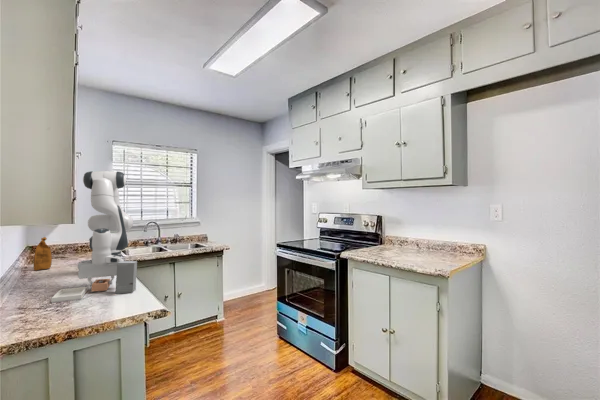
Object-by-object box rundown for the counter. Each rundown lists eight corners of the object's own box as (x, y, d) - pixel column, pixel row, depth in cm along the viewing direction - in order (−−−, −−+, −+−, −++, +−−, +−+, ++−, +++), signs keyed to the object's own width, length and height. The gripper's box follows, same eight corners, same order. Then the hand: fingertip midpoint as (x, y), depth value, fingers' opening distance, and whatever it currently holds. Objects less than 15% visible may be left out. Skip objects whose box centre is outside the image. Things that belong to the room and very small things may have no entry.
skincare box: (115, 294, 152) (115, 263, 153) (119, 290, 159) (120, 260, 159) (133, 292, 155) (133, 262, 155) (137, 289, 161) (137, 259, 162)
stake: (98, 289, 160) (98, 280, 160) (104, 289, 161) (104, 280, 161) (96, 291, 156) (96, 282, 156) (103, 291, 157) (103, 281, 157)
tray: (60, 293, 153) (60, 289, 153) (87, 290, 158) (87, 286, 158) (51, 302, 139) (51, 298, 139) (81, 299, 144) (81, 294, 144)
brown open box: (106, 290, 156) (106, 283, 156) (91, 291, 153) (91, 284, 153) (110, 284, 167) (110, 277, 167) (96, 285, 164) (96, 278, 164)
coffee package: (53, 266, 218) (53, 236, 218) (50, 269, 207) (51, 238, 208) (35, 268, 212) (35, 237, 212) (31, 271, 202) (32, 239, 202)
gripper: (76, 261, 152) (76, 289, 152) (122, 258, 161) (122, 284, 161) (79, 259, 158) (78, 285, 157) (123, 256, 167) (123, 281, 167)
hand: (101, 285), depth 159 cm, fingers closed on brown open box, 7 cm apart
